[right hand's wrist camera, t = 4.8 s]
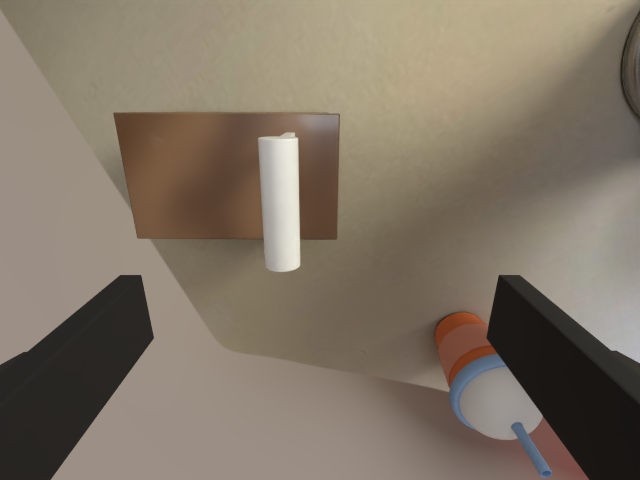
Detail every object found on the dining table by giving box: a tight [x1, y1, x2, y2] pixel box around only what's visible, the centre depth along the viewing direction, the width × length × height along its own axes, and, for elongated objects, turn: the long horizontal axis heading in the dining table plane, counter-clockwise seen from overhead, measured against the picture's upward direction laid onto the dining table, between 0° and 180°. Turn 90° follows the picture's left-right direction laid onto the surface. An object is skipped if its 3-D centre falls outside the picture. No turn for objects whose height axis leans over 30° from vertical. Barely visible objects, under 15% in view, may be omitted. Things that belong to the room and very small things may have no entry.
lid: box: [114, 113, 340, 272], centre depth 22 cm, size 15×9×9 cm, turn 90°
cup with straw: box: [435, 312, 552, 478], centre depth 35 cm, size 9×9×18 cm
